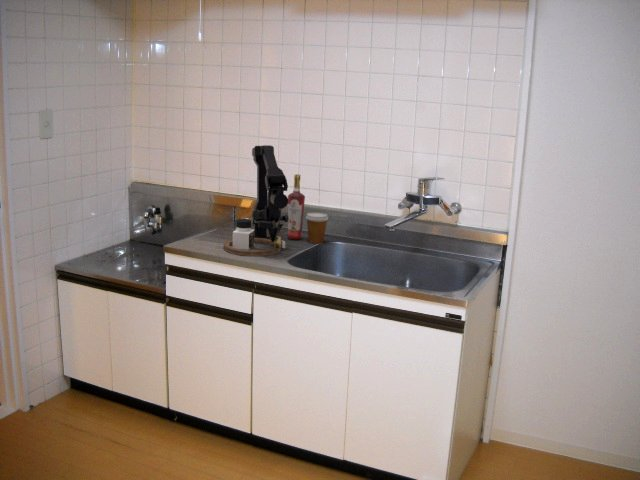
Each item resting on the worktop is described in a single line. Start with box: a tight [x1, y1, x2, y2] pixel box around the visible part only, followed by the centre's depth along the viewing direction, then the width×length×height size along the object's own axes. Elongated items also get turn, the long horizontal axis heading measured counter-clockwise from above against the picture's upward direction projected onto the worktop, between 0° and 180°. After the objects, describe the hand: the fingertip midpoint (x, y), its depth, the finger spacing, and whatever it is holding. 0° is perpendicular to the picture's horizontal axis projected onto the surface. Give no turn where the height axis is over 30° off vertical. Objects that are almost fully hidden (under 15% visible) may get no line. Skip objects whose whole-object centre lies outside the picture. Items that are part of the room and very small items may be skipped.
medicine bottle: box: [231, 217, 255, 251], centre depth 296 cm, size 7×7×12 cm
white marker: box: [281, 240, 286, 249], centre depth 300 cm, size 1×2×2 cm, turn 18°
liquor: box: [286, 173, 306, 241], centre depth 313 cm, size 7×7×28 cm
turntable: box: [222, 235, 282, 257], centre depth 296 cm, size 23×23×6 cm
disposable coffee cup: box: [305, 211, 329, 245], centre depth 311 cm, size 10×10×12 cm
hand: (272, 242), depth 292 cm, fingers closed
